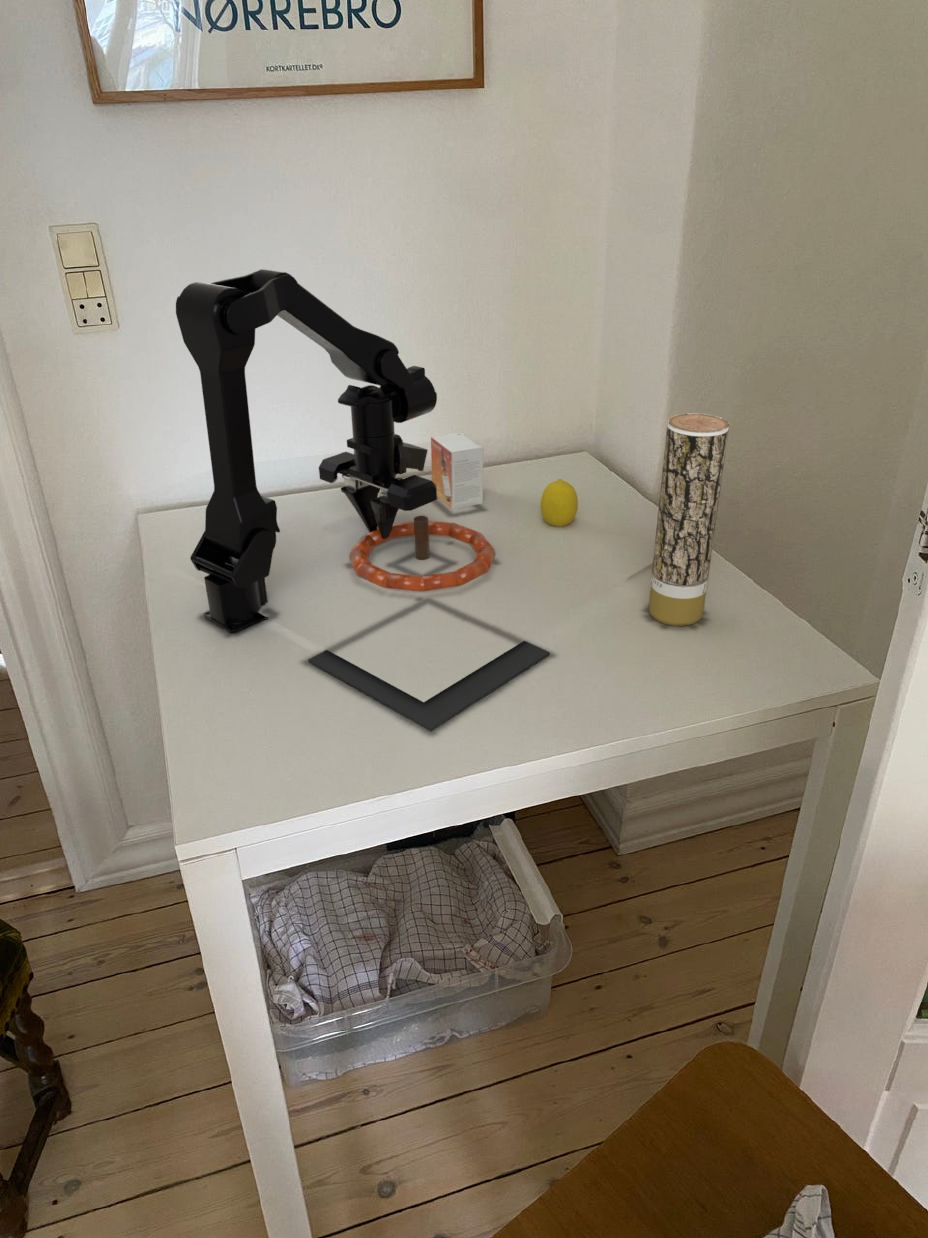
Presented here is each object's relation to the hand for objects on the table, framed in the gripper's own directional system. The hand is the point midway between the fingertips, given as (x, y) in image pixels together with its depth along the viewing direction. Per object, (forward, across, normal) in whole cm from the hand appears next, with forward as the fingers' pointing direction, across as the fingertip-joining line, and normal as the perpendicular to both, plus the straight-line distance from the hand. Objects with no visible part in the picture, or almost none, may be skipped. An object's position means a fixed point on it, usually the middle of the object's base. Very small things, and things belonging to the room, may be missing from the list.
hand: (379, 535), depth 134 cm
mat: (+2, -27, +17) cm, 32 cm away
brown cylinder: (+2, -9, 0) cm, 9 cm away
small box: (+2, +2, -19) cm, 19 cm away
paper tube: (+2, -43, -11) cm, 44 cm away
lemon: (+2, -16, -22) cm, 27 cm away
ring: (0, -9, 0) cm, 9 cm away
